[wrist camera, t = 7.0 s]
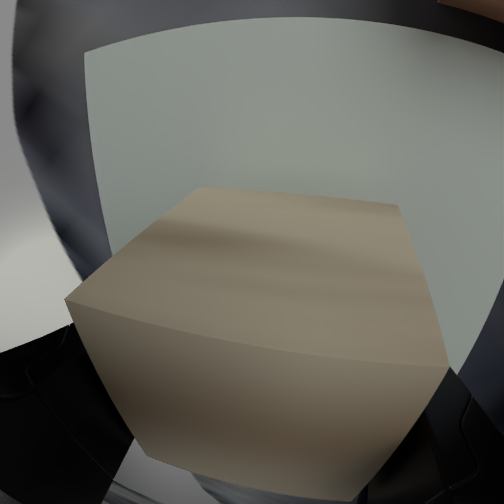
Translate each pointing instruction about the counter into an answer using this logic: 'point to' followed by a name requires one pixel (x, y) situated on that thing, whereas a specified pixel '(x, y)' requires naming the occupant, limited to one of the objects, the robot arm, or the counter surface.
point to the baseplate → (315, 135)
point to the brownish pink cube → (479, 7)
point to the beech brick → (267, 338)
